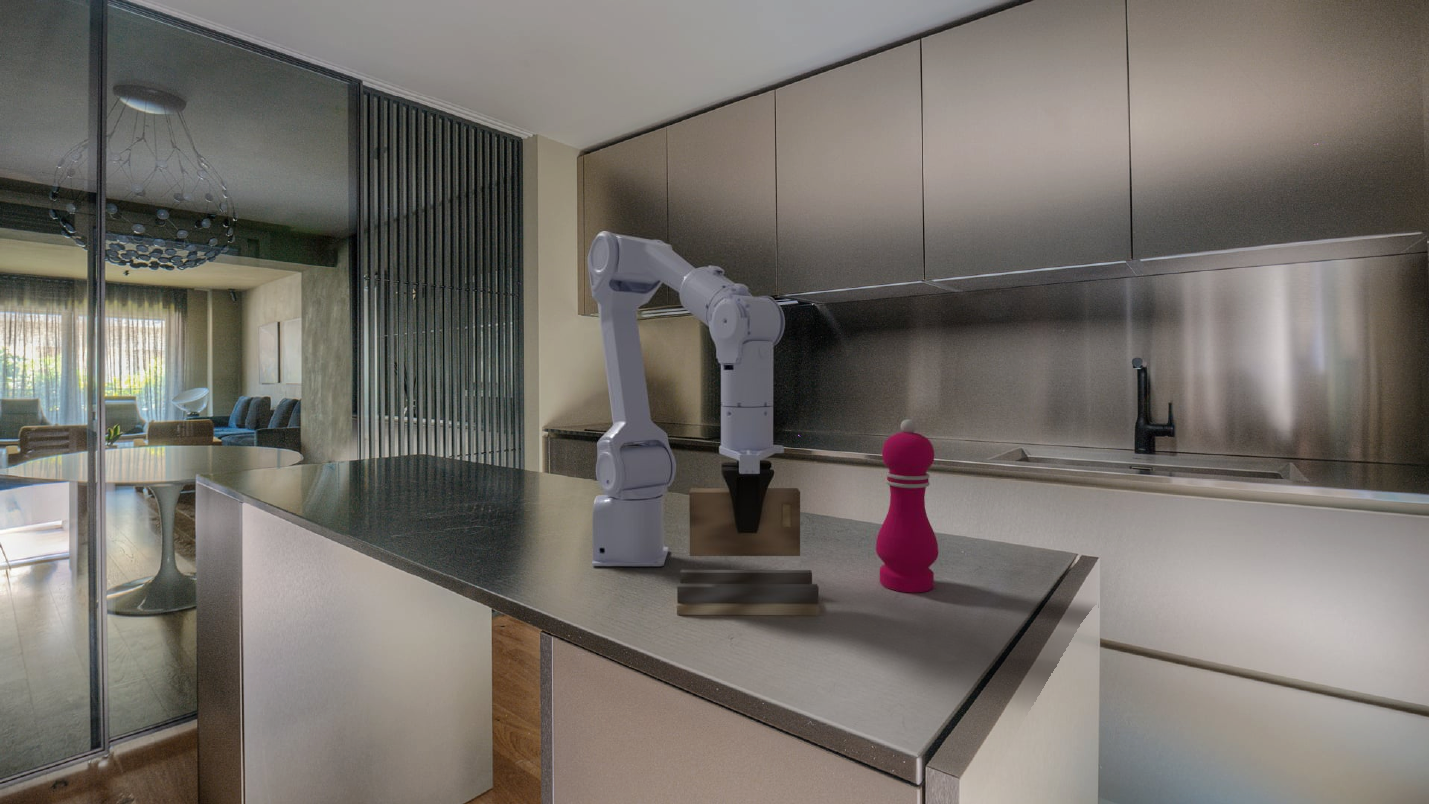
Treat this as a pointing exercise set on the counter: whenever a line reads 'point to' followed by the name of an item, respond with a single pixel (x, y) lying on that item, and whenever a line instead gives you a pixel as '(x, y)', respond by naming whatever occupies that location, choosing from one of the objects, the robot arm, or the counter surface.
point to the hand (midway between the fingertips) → (746, 529)
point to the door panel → (719, 532)
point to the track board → (747, 592)
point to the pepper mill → (907, 514)
